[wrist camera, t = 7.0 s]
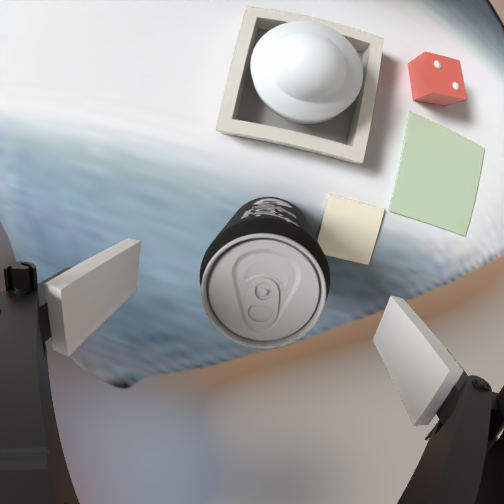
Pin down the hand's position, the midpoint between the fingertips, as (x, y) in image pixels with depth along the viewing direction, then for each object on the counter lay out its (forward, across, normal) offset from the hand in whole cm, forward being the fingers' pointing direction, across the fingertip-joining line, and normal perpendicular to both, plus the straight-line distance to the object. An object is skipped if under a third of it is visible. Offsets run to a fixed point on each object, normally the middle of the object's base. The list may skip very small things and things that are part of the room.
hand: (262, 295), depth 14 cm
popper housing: (+11, 0, +14) cm, 17 cm away
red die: (+11, +11, +18) cm, 23 cm away
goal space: (+11, +14, +10) cm, 20 cm away
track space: (+11, +6, +3) cm, 13 cm away
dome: (+9, 0, +14) cm, 16 cm away
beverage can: (+11, 0, +1) cm, 11 cm away
